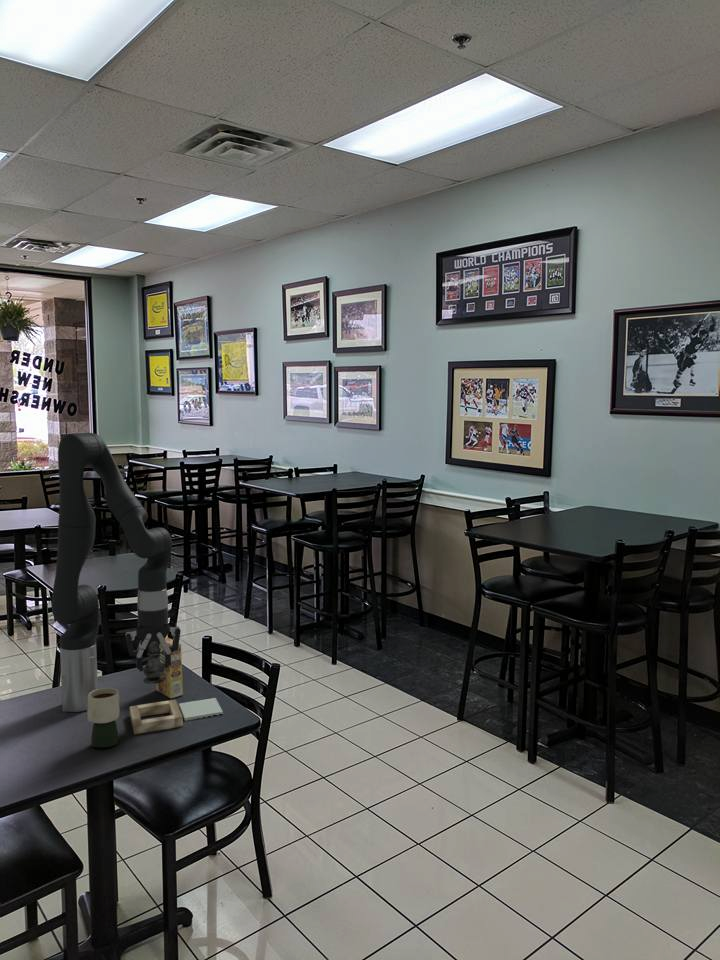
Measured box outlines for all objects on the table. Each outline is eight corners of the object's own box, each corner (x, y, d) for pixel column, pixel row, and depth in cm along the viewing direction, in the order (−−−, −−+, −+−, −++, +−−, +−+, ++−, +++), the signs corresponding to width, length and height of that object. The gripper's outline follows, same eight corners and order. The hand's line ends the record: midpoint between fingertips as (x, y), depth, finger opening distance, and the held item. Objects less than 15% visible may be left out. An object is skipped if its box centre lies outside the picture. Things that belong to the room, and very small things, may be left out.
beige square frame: (134, 734, 177) (133, 724, 177) (129, 715, 188) (129, 706, 188) (182, 726, 182) (182, 716, 182) (175, 708, 193) (175, 699, 193)
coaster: (184, 720, 185) (184, 717, 185) (179, 706, 194) (179, 703, 194) (222, 714, 189) (222, 711, 189) (215, 700, 198) (215, 697, 198)
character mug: (108, 732, 178) (106, 683, 177) (131, 737, 176) (130, 686, 175) (77, 752, 168) (75, 699, 167) (102, 757, 166) (100, 703, 164)
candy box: (183, 695, 202) (182, 643, 200) (170, 699, 199) (168, 646, 198) (168, 686, 208) (166, 636, 207) (154, 690, 205) (153, 639, 204)
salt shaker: (159, 685, 181) (158, 639, 180) (138, 683, 182) (137, 638, 181) (169, 676, 187) (169, 632, 185) (149, 674, 188) (148, 631, 186)
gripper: (179, 599, 188) (179, 660, 190) (122, 604, 183) (123, 667, 185) (183, 606, 182) (184, 670, 183) (124, 612, 176) (125, 677, 178)
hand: (153, 668), depth 184 cm, fingers closed on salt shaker, 6 cm apart
